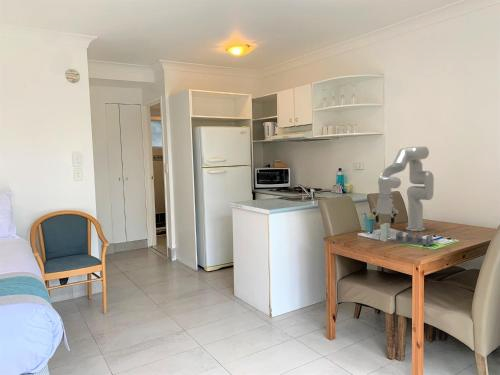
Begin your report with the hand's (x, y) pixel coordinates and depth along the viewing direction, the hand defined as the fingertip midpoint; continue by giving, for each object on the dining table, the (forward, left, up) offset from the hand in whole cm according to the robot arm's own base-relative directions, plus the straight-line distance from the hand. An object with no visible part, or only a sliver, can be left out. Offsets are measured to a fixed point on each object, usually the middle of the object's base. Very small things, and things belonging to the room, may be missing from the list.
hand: (384, 222), depth 253 cm
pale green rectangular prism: (-1, 0, -11) cm, 11 cm away
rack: (-1, +18, -11) cm, 21 cm away
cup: (-16, -17, -11) cm, 26 cm away
